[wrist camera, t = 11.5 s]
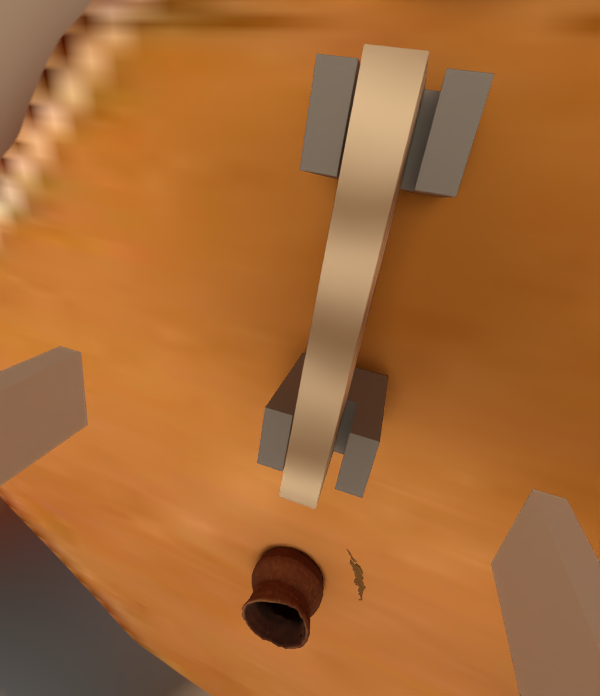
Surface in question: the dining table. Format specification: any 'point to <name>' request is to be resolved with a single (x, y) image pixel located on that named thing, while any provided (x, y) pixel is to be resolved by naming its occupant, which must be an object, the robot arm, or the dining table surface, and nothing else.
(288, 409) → the set of support blocks
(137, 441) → the dining table surface
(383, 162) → the ash rail plank
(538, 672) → the robot arm
